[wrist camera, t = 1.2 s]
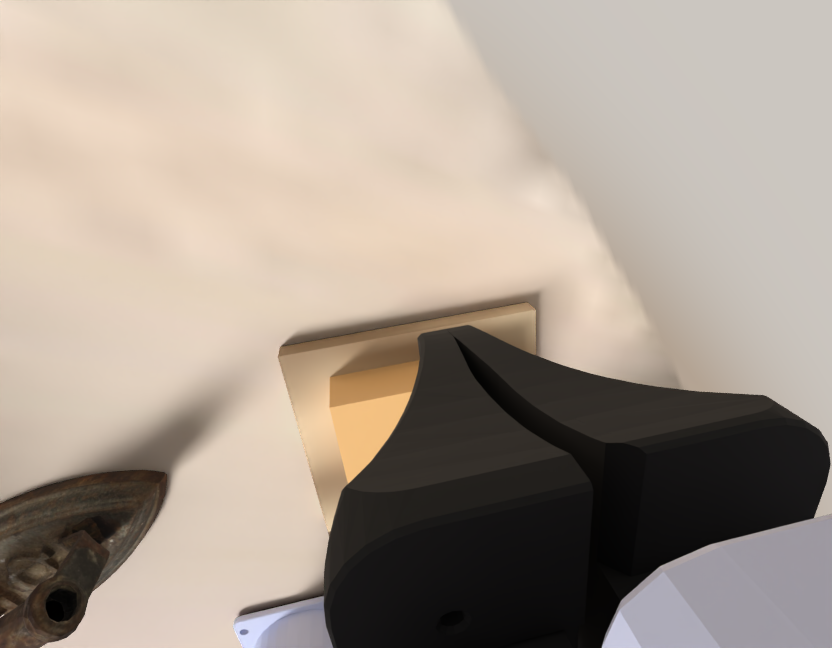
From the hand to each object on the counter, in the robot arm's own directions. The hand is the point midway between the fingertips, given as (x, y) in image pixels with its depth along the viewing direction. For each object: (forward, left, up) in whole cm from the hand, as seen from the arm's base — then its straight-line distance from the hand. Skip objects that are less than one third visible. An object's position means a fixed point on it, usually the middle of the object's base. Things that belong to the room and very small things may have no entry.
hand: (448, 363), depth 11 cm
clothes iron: (-11, +18, -10) cm, 23 cm away
